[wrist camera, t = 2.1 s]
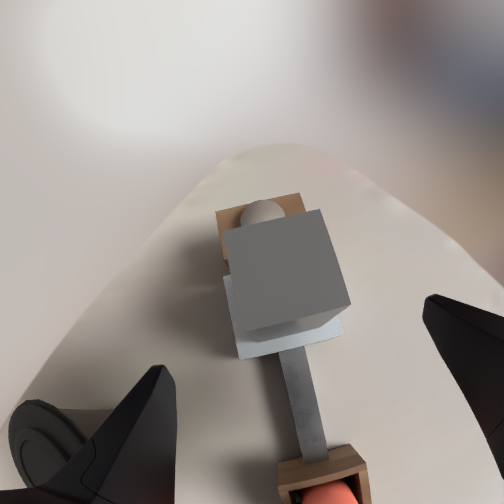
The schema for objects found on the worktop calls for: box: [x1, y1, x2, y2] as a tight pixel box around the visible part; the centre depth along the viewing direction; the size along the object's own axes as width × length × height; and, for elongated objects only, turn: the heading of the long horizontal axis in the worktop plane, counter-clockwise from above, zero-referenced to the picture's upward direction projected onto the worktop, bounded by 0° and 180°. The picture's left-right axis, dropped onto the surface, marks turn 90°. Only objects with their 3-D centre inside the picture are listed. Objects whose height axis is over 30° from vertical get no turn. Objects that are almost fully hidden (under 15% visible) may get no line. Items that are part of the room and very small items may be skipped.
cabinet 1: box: [215, 193, 306, 268], centre depth 17 cm, size 3×5×6 cm, turn 102°
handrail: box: [278, 346, 329, 465], centre depth 16 cm, size 13×2×2 cm, turn 12°
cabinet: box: [277, 444, 372, 504], centre depth 12 cm, size 5×5×4 cm
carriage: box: [222, 209, 351, 360], centre depth 14 cm, size 5×6×10 cm
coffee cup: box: [8, 399, 113, 488], centre depth 11 cm, size 8×8×10 cm
